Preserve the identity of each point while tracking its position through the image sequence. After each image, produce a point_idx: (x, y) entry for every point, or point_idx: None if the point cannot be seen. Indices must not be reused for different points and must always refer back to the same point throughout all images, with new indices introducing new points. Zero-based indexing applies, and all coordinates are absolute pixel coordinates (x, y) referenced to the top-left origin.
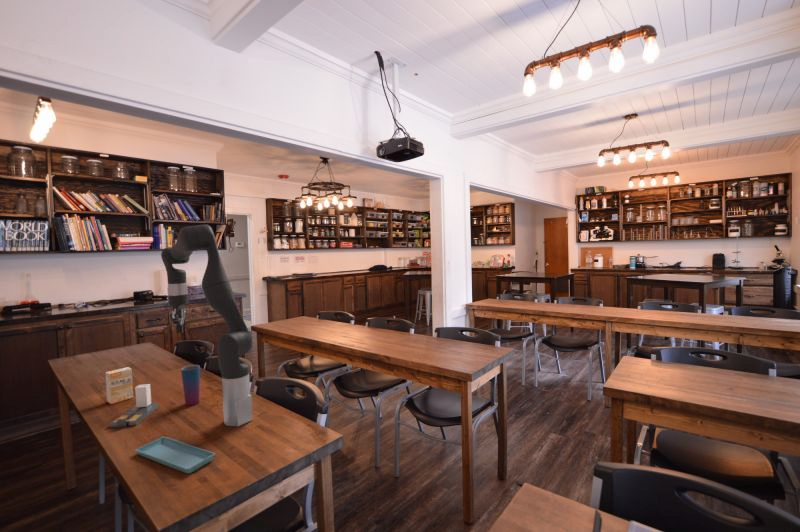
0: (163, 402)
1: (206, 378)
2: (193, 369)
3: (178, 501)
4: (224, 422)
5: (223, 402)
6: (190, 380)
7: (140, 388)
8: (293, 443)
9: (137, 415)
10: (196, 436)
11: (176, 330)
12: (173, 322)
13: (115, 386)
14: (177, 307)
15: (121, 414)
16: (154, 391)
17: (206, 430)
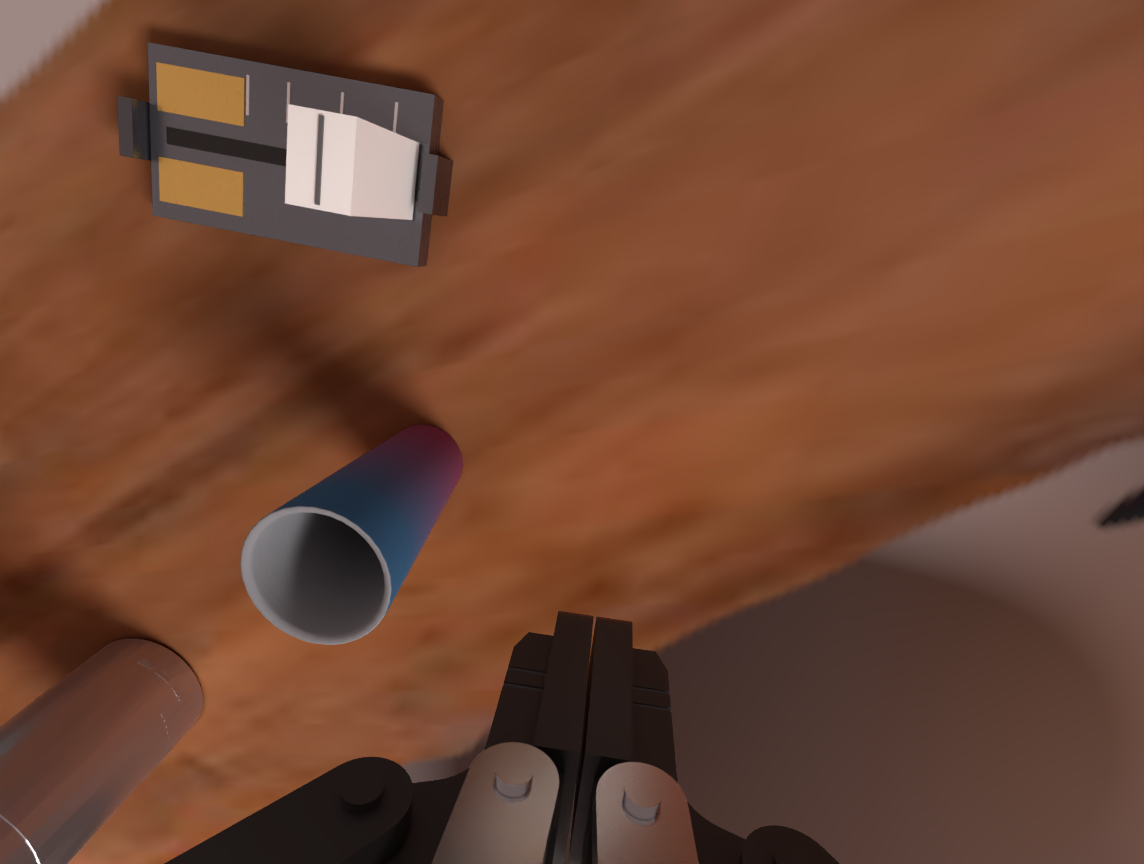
0: (499, 274)
1: (915, 475)
2: (258, 607)
3: None
4: (111, 644)
5: (16, 716)
6: (299, 537)
7: (293, 153)
8: None
9: (232, 191)
10: (21, 541)
11: (548, 645)
12: (256, 828)
13: None
14: None
15: (272, 66)
16: (778, 129)
17: (72, 573)
